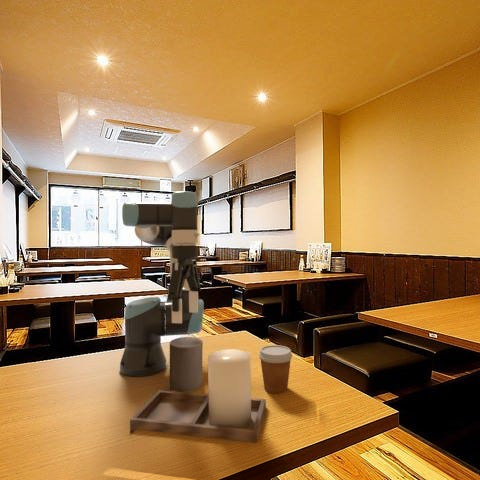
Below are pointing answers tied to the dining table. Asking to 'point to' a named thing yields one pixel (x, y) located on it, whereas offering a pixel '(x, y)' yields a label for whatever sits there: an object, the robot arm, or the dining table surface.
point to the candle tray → (192, 417)
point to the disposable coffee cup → (275, 368)
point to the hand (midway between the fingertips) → (185, 317)
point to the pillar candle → (185, 364)
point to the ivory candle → (229, 388)
